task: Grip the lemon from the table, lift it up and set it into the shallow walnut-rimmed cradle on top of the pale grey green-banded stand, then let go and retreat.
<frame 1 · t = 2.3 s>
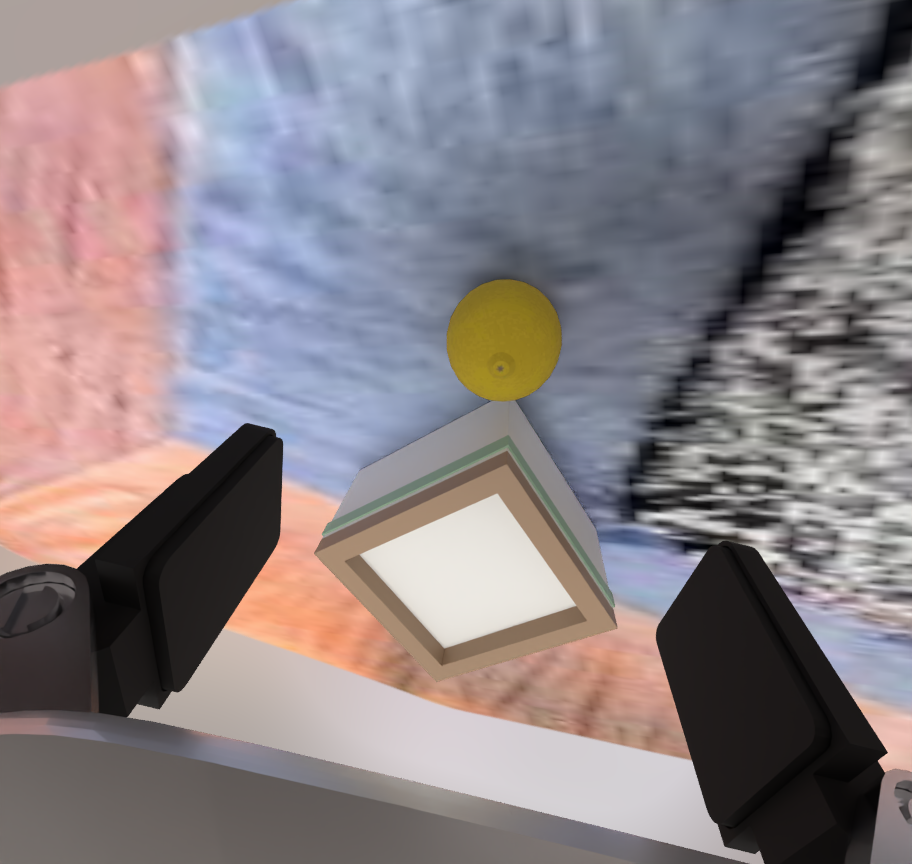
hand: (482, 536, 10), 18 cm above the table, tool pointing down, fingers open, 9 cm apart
lemon: (505, 317, 26), on the table
stand: (477, 499, 32), on the table
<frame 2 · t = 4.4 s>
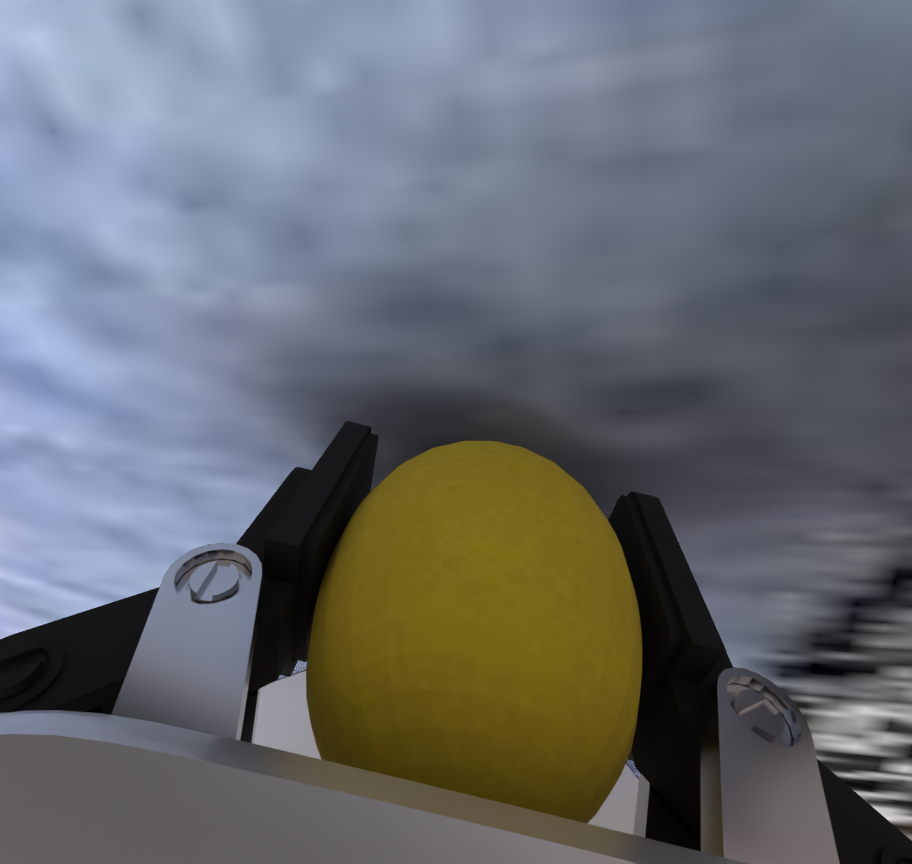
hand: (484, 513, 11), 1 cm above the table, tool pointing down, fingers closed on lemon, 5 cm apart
lemon: (488, 476, 12), on the table, touching gripper
stand: (443, 747, 18), on the table
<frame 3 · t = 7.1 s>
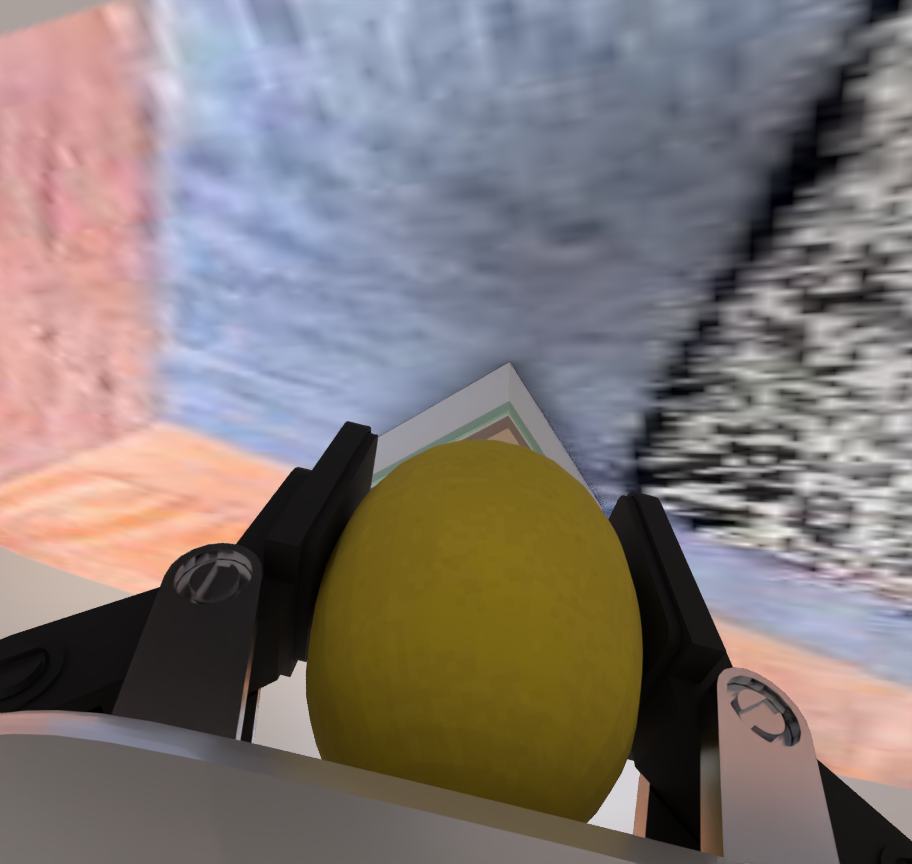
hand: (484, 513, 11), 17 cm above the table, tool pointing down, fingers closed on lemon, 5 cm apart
lemon: (488, 475, 12), point 16 cm above the table, touching gripper
stand: (478, 478, 31), on the table
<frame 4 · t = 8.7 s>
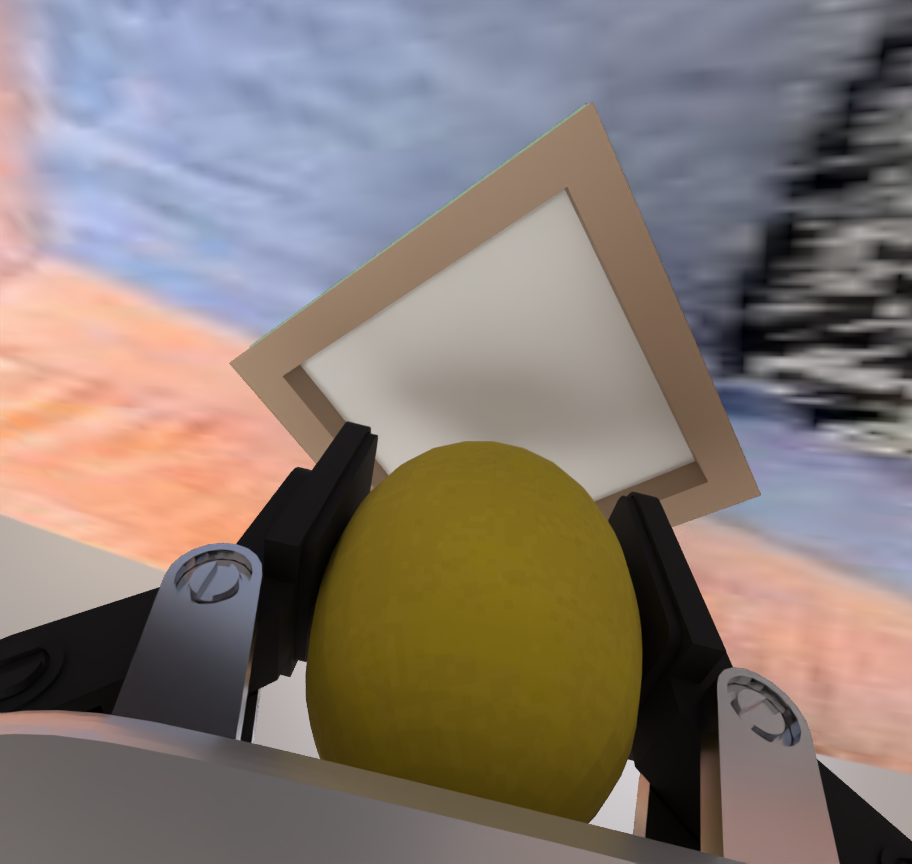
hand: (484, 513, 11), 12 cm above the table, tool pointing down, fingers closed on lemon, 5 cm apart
lemon: (488, 476, 12), point 11 cm above the table, touching gripper
stand: (503, 345, 22), on the table
when the fingers open (10 cm above the table, at t = 9.6 s): lemon drops 1 cm, resting on stand.
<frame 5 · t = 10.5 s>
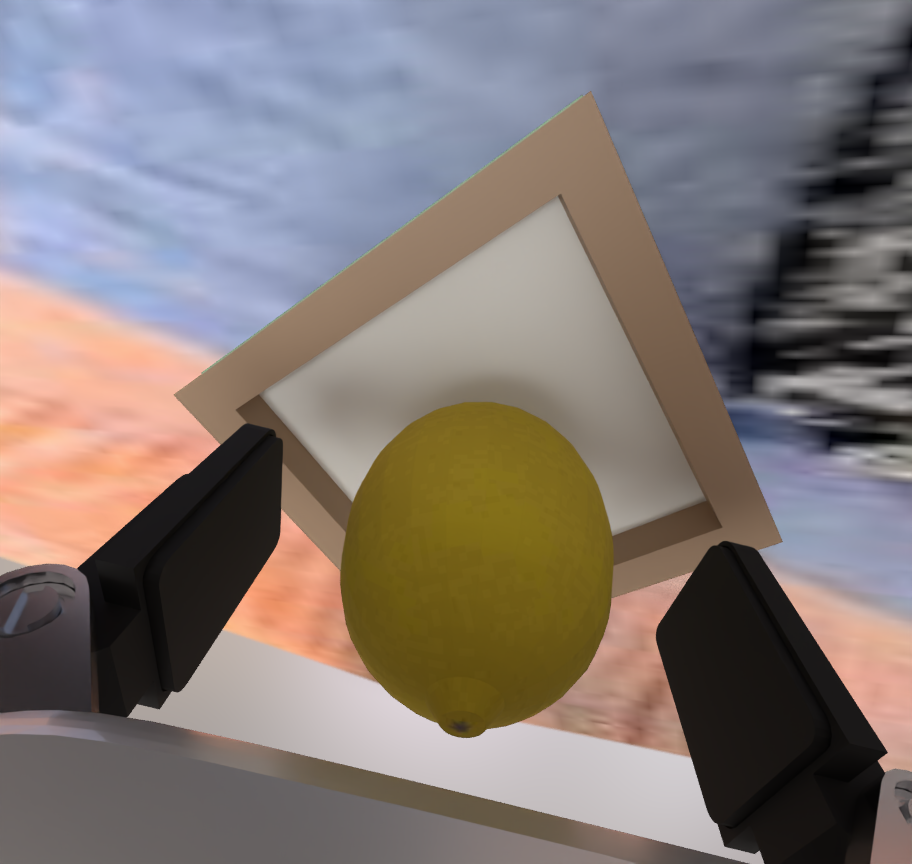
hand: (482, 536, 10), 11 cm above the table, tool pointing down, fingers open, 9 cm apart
lemon: (484, 441, 14), point 7 cm above the table, touching stand
stand: (491, 363, 20), on the table
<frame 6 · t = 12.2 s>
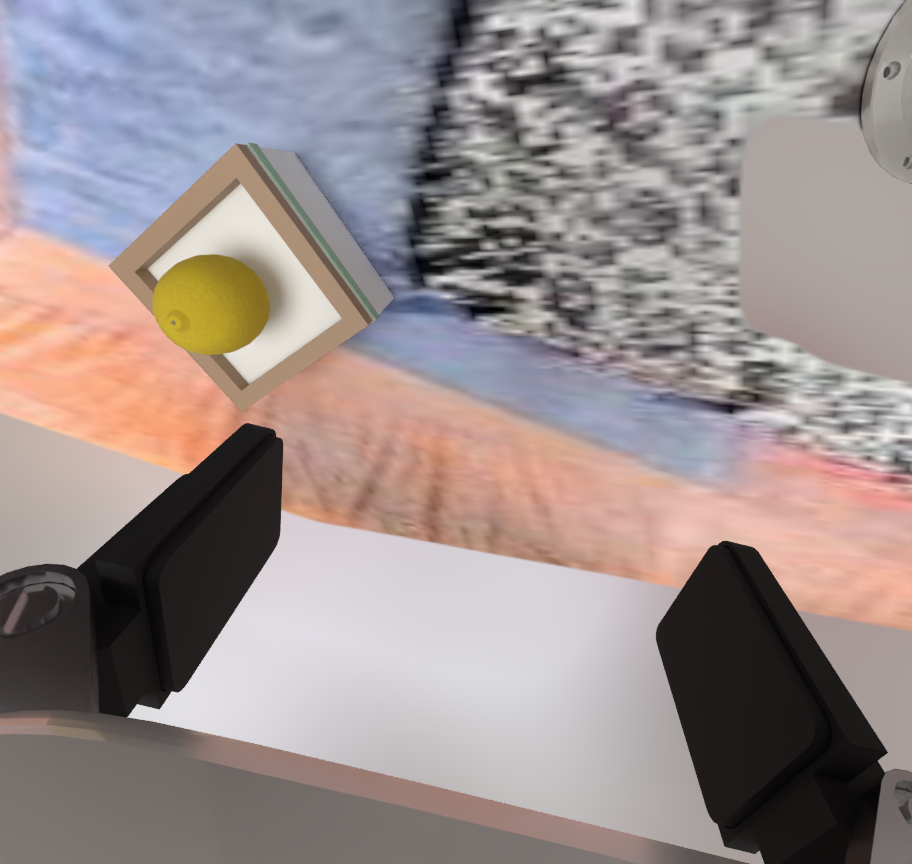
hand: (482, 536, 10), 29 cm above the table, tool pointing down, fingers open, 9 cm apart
lemon: (250, 290, 31), point 7 cm above the table, touching stand
stand: (290, 274, 37), on the table
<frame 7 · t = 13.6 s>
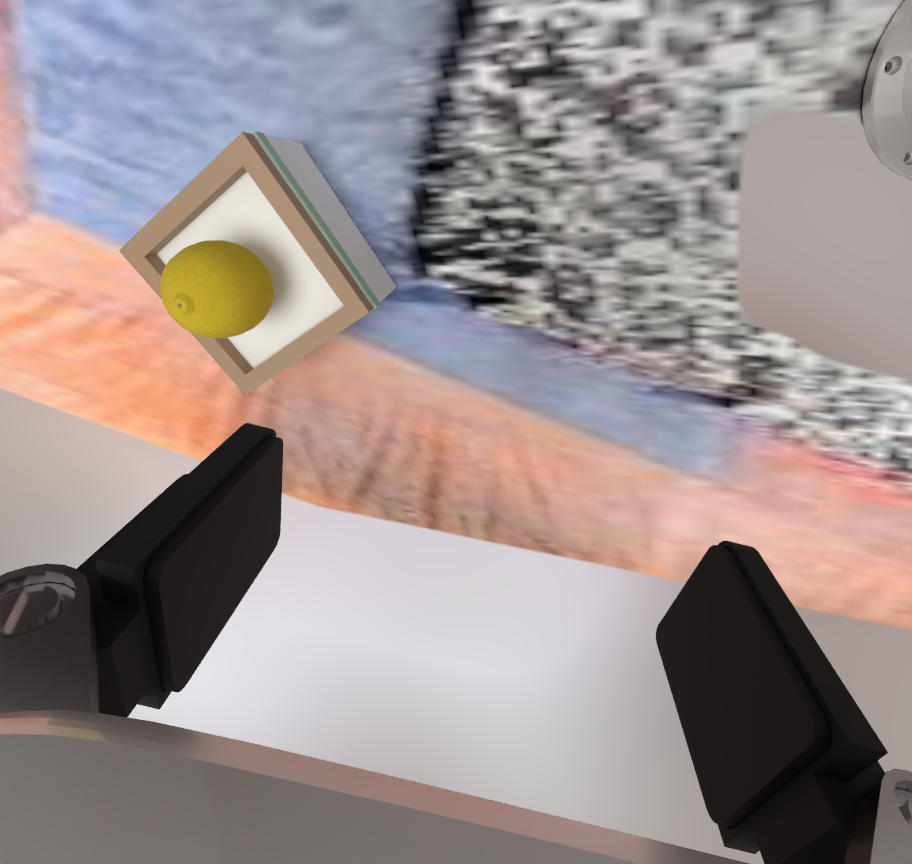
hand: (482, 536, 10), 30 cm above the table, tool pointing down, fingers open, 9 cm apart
lemon: (255, 276, 32), point 7 cm above the table, touching stand
stand: (295, 261, 38), on the table
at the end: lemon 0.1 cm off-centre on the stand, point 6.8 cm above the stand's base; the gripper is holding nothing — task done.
